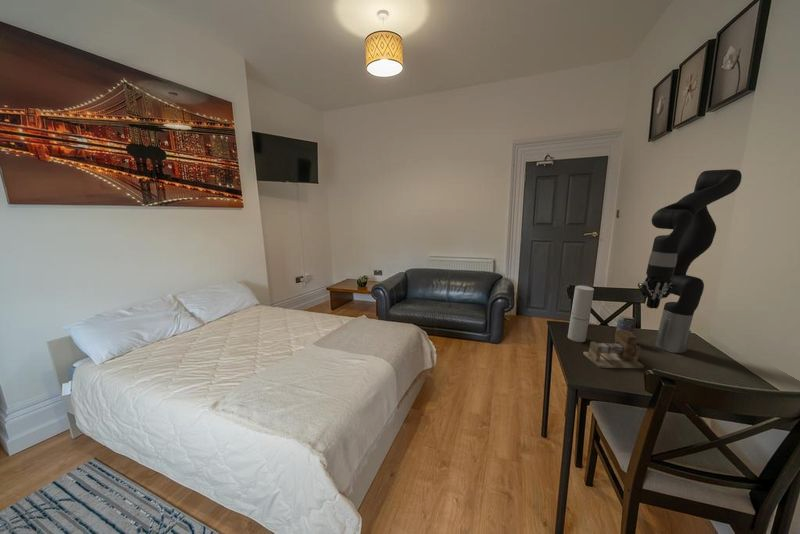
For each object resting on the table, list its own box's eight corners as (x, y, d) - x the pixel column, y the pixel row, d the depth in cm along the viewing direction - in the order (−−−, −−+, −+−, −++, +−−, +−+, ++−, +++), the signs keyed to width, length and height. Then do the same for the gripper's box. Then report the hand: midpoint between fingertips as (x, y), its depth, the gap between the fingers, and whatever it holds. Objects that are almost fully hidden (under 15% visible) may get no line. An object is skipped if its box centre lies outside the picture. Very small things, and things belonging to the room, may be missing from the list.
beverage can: (616, 343, 128) (621, 318, 125) (611, 336, 134) (616, 313, 132) (633, 346, 125) (639, 321, 123) (627, 338, 132) (632, 315, 129)
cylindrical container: (580, 335, 135) (588, 285, 129) (588, 342, 128) (597, 290, 123) (564, 334, 136) (572, 285, 130) (572, 341, 129) (580, 289, 123)
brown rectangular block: (621, 351, 116) (625, 330, 114) (632, 359, 110) (637, 337, 108) (612, 351, 116) (616, 330, 114) (623, 359, 110) (628, 337, 108)
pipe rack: (623, 354, 118) (626, 338, 117) (643, 368, 108) (647, 351, 107) (583, 353, 118) (585, 338, 117) (599, 367, 109) (602, 350, 107)
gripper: (670, 262, 108) (660, 304, 112) (635, 261, 108) (626, 304, 112) (690, 266, 101) (678, 311, 104) (652, 266, 101) (642, 311, 105)
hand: (651, 307), depth 108 cm, fingers closed
